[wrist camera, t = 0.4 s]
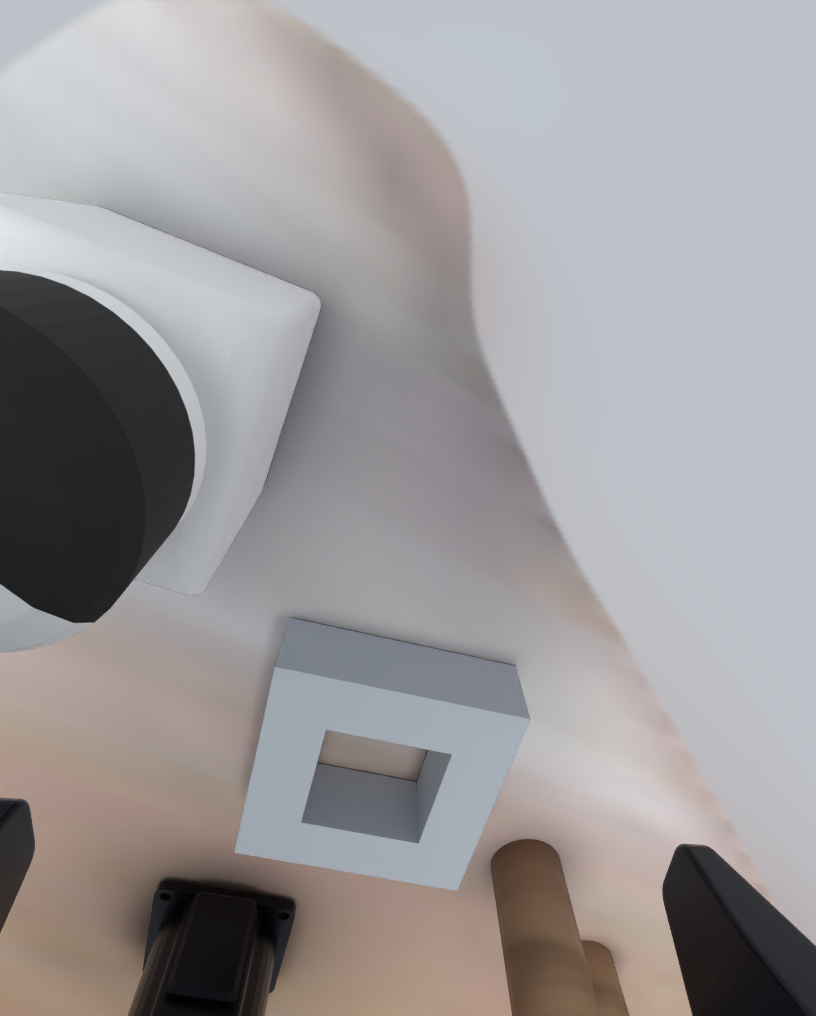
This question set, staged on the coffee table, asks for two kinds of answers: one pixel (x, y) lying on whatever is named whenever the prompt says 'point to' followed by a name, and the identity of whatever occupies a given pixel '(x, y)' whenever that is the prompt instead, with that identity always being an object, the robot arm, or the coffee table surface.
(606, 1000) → the short stub
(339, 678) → the collar block
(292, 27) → the coffee table surface
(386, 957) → the coffee table surface
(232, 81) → the coffee table surface
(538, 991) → the long dowel
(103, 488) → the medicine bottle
